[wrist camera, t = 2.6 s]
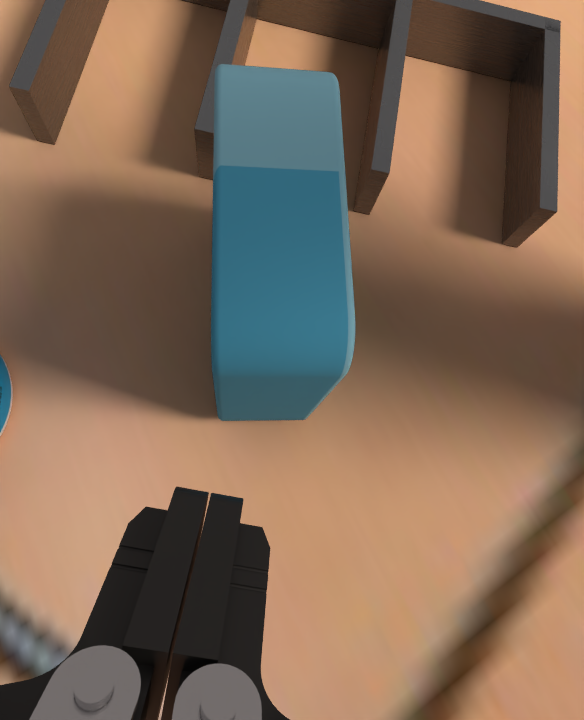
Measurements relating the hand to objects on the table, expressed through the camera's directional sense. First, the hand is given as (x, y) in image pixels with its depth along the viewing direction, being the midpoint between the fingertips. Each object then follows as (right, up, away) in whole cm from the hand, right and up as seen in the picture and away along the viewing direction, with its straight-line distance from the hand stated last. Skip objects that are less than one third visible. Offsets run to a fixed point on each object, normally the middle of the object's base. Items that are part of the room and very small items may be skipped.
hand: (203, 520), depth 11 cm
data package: (0, +6, +17) cm, 18 cm away
